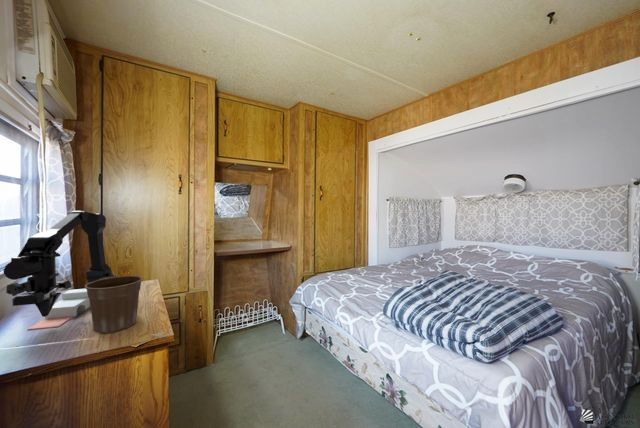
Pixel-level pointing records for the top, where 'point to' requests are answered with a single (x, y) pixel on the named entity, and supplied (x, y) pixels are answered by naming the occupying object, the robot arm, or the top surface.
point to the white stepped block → (70, 304)
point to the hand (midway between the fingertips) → (45, 316)
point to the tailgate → (50, 323)
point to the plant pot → (114, 302)
